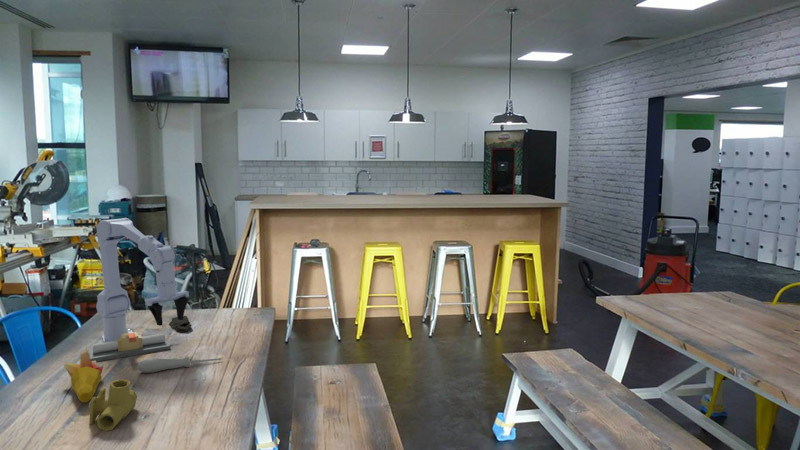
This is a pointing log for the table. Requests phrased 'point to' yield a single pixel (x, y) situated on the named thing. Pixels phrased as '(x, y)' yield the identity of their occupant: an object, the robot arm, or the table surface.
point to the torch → (84, 376)
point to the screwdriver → (165, 364)
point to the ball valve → (112, 405)
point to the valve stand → (128, 347)
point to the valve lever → (131, 335)
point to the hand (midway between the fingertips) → (170, 322)
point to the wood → (180, 324)
